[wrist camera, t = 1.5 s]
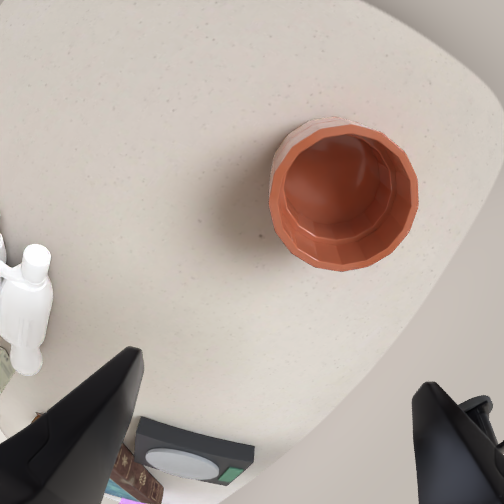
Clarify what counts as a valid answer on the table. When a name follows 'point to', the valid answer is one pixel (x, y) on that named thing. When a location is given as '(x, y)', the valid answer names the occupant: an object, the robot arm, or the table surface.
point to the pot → (341, 194)
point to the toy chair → (129, 501)
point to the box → (5, 369)
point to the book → (131, 479)
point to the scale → (190, 453)
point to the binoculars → (25, 306)
